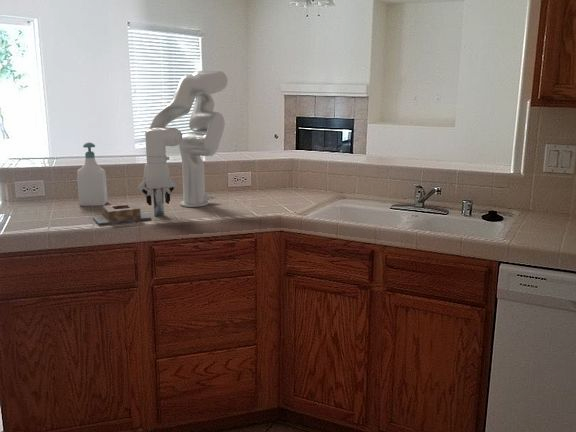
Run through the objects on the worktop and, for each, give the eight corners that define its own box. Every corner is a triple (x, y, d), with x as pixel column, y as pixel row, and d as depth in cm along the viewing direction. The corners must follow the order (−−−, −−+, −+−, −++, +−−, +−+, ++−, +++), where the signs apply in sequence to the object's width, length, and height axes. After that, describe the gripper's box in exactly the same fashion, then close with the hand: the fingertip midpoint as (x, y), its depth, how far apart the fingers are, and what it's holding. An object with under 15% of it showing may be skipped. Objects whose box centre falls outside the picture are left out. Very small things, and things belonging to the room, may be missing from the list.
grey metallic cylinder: (162, 213, 226) (161, 185, 223) (165, 215, 223) (164, 186, 220) (153, 214, 224) (151, 186, 221) (155, 216, 221) (154, 187, 218)
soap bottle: (108, 201, 250) (104, 141, 244) (105, 205, 242) (100, 143, 236) (83, 201, 249) (78, 141, 242) (79, 205, 241) (74, 143, 234)
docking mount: (143, 213, 226) (142, 201, 225) (151, 219, 216) (150, 207, 215) (92, 219, 217) (91, 206, 216) (98, 225, 206) (97, 213, 205)
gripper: (174, 158, 226) (176, 200, 230) (132, 160, 217) (134, 204, 221) (180, 160, 219) (182, 203, 223) (137, 162, 211) (139, 208, 215)
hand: (158, 203), depth 222 cm, fingers open, 6 cm apart
